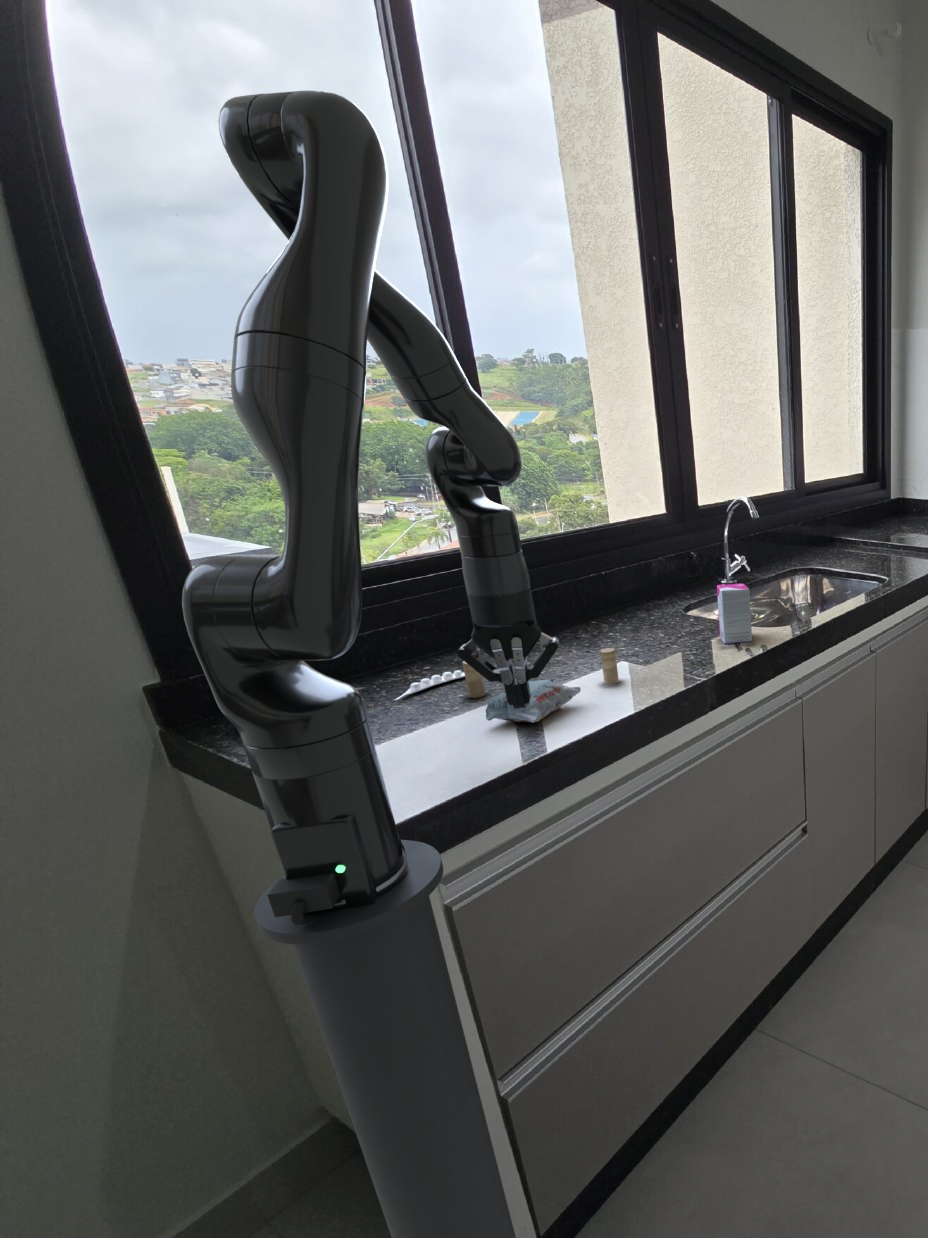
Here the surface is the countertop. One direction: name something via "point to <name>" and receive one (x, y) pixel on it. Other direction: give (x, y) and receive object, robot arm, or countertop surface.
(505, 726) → the countertop surface
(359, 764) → the robot arm
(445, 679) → the pea pod
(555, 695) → the packaged food
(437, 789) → the countertop surface
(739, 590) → the supplement box
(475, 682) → the marker peg left
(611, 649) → the marker peg right
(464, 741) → the countertop surface
